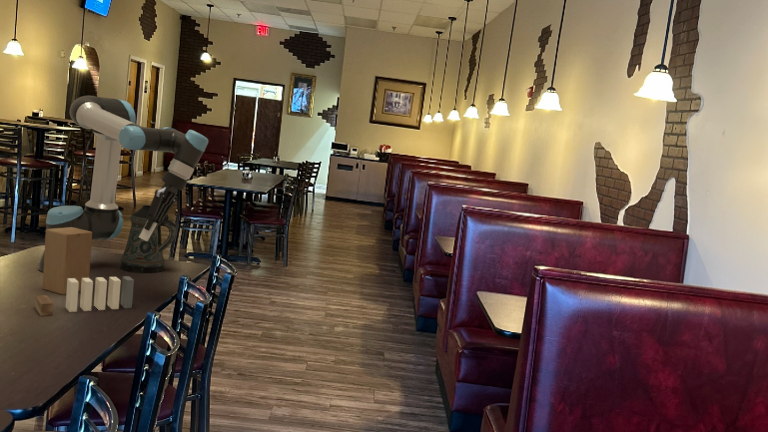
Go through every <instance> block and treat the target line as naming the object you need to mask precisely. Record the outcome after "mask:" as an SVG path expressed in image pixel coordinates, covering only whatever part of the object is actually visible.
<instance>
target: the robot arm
mask: <svg viewBox="0 0 768 432" xmlns="http://www.w3.org/2000/svg"><path fill="white" fill-rule="evenodd" d="M69 116H70V119H71V120H72V122H73V123H74V124H75V125H77V126H79V127H81V128H83V129H87V130H93V134H94V136H96V143H95V144H96V145H95V146H96V147H95V155H94V164H93V172H92V179H91V181H92V182H91V189H90V190H91V191H90V199H89V200H88V201H87V202H85V204H84V209H83V207H82V206H78V205H60V206H54V207H52V208H50V209H49V210H48V212H47V216H46V220H45V224H46V225H45V230H46V229H54V228H66V227H73V228H78V229H82V230H86V231H91V232H92V241H106V240H113V239H115V238H116V237H117V236H119V235H120V233H121V232H122V229H123V226H124V218H123V214H122V212H121V211H120V210H119V205H118V204H117V203H116V202H115V201H116V192H117V184H118V177H119V167H120V159H121V153H122V152H121V151H122V148H123V149H126V150H131V151H147V152H148V151H149V152H160V153H163V152H164V153H171V154H174V156H173V157H172V160H171V161H170V162H169V163H170V164H169V166H168V167H167V171H165V173H164V175H163V177H162V179H161V181H162V182H164V184H163V185H162V186H161V188H160V189H157V188H156V189H155V191H154V195H153V198H152V201H151V203H150V205H149V206H150V208H149V210H148V213H147V215H146V218H147V219H148V221H147V223H146V225H145V226H144V228H143V230H142V232H141V234H140V236H139V238H141V239H143V240H145V241H148V240H149V238H150V236H151V234H152V232H153V231H154V229H155V227H156V225H157V223H158V224H161V223H160V222H162V221H163V219H164V218H165V216H166V215H167V214H169V212H170V210H171V209H172V207H173V206H174V205H175V203H176V202H177V201H178V197H177V194H178V191H184V189H185V188H186V186H187V184H188V180H190V178H191V176H192V175H193V173H194V171H195V168H196V166H197V165H198V164H199V161H200V159H201V158H202V156H203V154H204V153H205V151H206V148H207V146H208V144H209V139H208V138H207V137H206V136H204V135H203V134H201V133H200V132H197V131H195V130H193V129H189V130H188V131H187V132H186V133H183V132H181V131H178V130H177V129H175V128H171V127H167V126H165V127H162V128H155V127H146V126H141V125H139V124H136V112H135V109H134V108H133V106H132V104H131V103H130V102H128V101H127V100H122V99H119V98H111V97H101V96H95V95H84V96H79V97H78V98H76V99H75V100H74V101H73V102H72V103H71V105H70V108H69ZM43 250H44V251H43V252H42V255H41V258H40V260H39V262H38V271H39V270H40V271H39V272H42V273H43V270H44V254H45V249H43Z"/></svg>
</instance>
